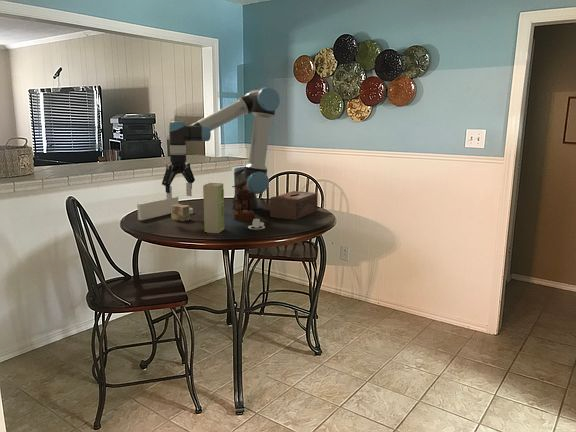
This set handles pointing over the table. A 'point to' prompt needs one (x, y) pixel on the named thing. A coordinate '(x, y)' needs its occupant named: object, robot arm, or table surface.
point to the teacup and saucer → (257, 224)
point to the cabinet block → (180, 212)
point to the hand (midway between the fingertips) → (179, 197)
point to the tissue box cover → (293, 205)
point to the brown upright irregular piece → (243, 195)
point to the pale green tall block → (213, 207)
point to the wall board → (157, 208)
